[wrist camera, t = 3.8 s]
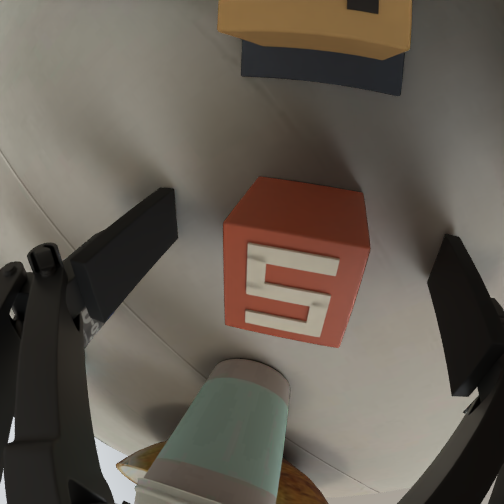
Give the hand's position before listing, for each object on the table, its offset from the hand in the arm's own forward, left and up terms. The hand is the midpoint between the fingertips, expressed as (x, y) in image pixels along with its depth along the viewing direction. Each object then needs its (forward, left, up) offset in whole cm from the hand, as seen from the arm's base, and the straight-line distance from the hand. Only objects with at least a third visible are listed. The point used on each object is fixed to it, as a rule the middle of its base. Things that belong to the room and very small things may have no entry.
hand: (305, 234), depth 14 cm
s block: (0, 0, 0) cm, 0 cm away
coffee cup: (+13, -2, 0) cm, 13 cm away
